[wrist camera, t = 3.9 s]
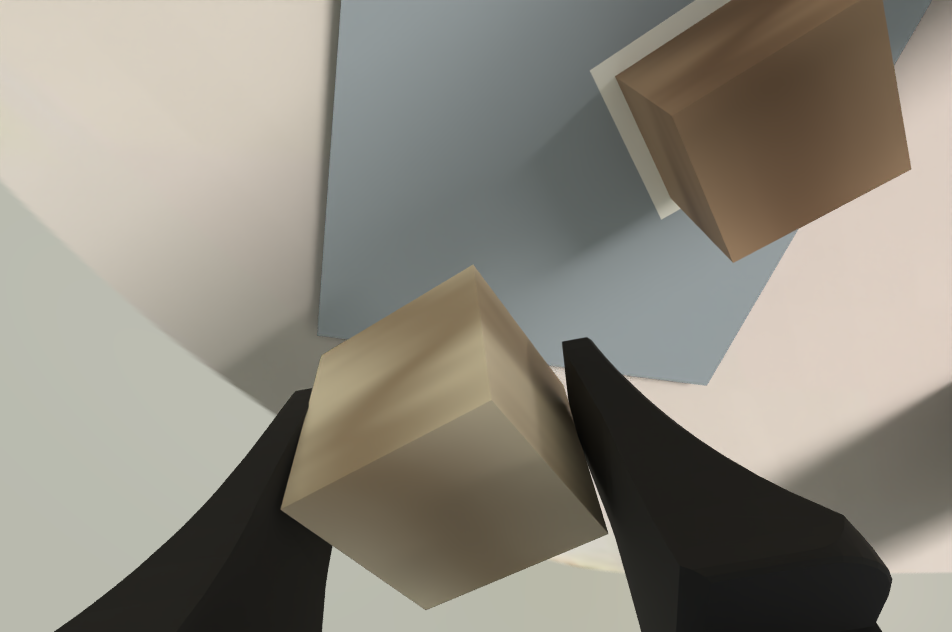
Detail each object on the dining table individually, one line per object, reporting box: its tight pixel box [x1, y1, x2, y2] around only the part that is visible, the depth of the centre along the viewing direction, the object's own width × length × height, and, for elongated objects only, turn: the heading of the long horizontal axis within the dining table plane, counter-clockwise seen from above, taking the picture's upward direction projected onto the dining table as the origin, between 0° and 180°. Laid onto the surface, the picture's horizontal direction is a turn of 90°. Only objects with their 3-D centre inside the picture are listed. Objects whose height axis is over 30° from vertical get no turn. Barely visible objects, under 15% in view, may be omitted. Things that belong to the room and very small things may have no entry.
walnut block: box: [615, 0, 911, 263], centre depth 15 cm, size 4×4×4 cm
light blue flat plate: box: [317, 0, 932, 386], centre depth 18 cm, size 16×15×1 cm
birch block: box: [280, 265, 608, 610], centre depth 12 cm, size 4×4×4 cm
